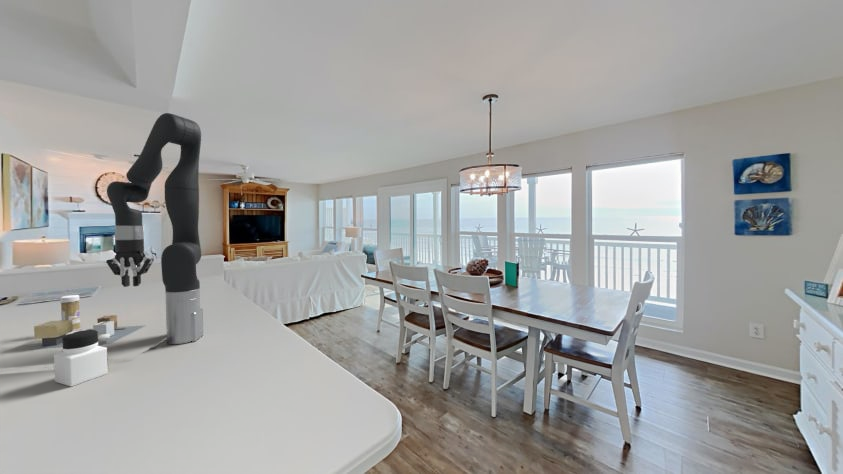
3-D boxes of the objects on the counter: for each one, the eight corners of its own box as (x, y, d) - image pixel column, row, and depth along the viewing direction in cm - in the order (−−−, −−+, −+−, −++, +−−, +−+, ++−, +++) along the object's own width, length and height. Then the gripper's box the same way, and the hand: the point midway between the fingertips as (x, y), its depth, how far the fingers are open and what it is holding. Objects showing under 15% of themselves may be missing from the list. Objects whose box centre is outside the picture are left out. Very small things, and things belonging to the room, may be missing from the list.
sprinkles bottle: (78, 333, 110) (76, 296, 109) (59, 335, 107) (57, 298, 107) (82, 329, 114) (81, 294, 113) (64, 332, 111) (63, 295, 111)
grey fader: (114, 334, 104) (113, 320, 104) (106, 337, 101) (106, 324, 101) (101, 335, 104) (101, 321, 103) (93, 338, 100) (93, 324, 100)
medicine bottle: (108, 373, 81) (107, 329, 80) (70, 387, 74) (68, 338, 73) (92, 369, 83) (91, 325, 82) (54, 382, 76) (52, 334, 76)
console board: (146, 329, 114) (146, 316, 114) (110, 348, 97) (109, 333, 97) (80, 333, 110) (79, 320, 109) (30, 354, 92) (29, 339, 92)
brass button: (72, 331, 100) (72, 319, 100) (57, 337, 95) (56, 325, 94) (51, 332, 99) (50, 321, 98) (34, 338, 93) (34, 326, 93)
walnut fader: (117, 327, 111) (116, 314, 111) (110, 330, 108) (109, 317, 108) (105, 328, 110) (105, 315, 110) (97, 331, 107) (97, 318, 107)
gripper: (158, 237, 115) (160, 283, 116) (113, 238, 112) (115, 285, 112) (146, 238, 108) (147, 287, 108) (97, 239, 104) (99, 289, 105)
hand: (131, 286), depth 110 cm, fingers closed
